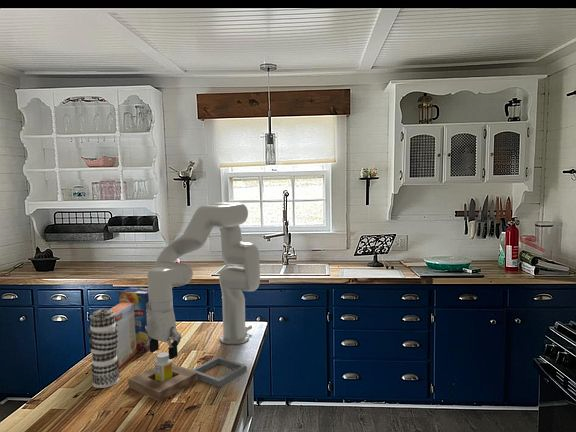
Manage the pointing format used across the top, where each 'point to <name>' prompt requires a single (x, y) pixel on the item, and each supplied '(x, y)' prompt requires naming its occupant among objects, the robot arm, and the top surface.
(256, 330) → the top surface
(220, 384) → the square frame
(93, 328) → the decorative candle
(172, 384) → the socket block
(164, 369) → the supplement bottle
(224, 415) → the top surface
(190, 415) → the top surface
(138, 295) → the blue cardboard box
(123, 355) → the cracker box
